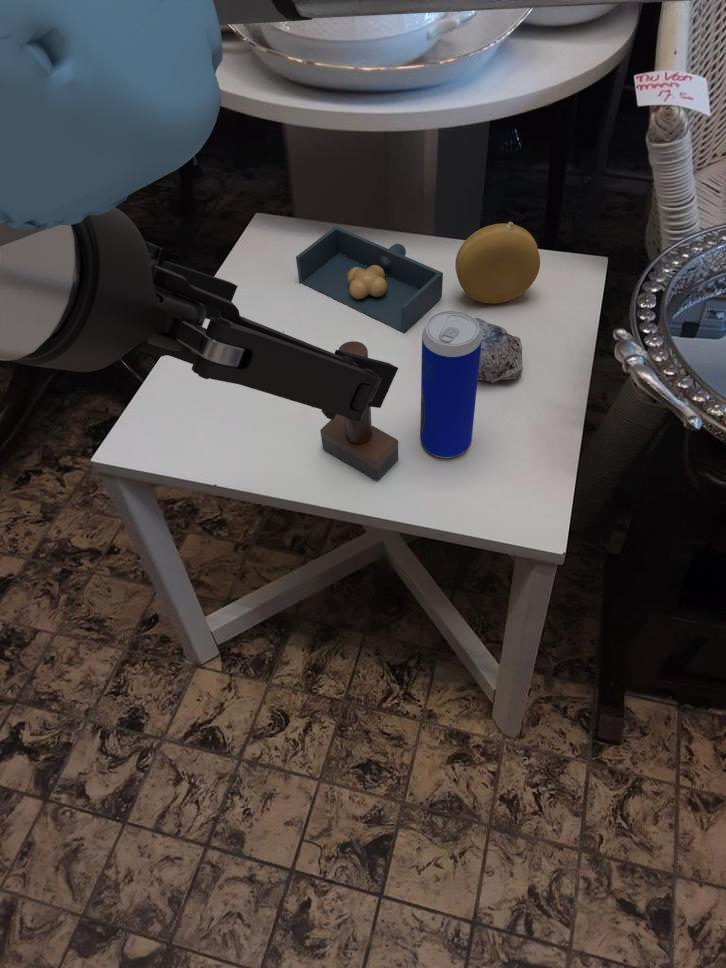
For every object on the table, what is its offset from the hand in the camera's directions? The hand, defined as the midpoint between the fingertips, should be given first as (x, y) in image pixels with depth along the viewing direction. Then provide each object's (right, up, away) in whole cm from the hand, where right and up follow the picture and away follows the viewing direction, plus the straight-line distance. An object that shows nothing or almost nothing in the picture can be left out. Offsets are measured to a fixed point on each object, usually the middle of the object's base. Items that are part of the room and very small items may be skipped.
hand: (301, 341), depth 50 cm
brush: (+4, -6, +27) cm, 28 cm away
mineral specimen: (+16, +4, +35) cm, 39 cm away
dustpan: (+6, +15, +43) cm, 46 cm away
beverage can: (+12, -5, +28) cm, 31 cm away
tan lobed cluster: (+5, +14, +42) cm, 45 cm away
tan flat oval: (+19, +13, +41) cm, 47 cm away
